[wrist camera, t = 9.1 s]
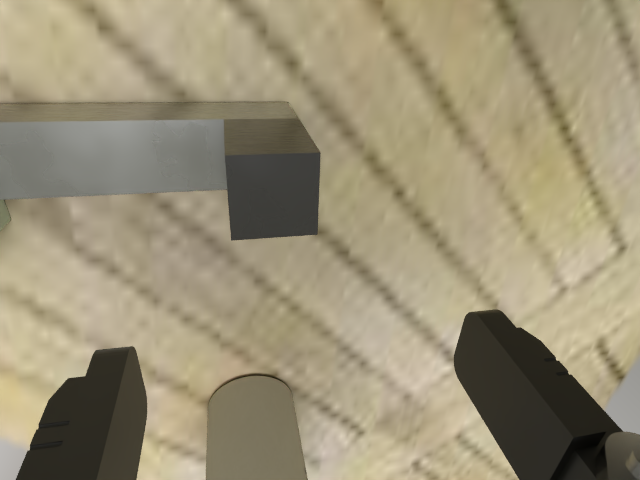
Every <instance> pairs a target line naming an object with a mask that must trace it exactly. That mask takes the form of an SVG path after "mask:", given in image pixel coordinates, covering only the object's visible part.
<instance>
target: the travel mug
mask: <svg viewBox="0 0 640 480" xmlns="http://www.w3.org/2000/svg"><path fill="white" fill-rule="evenodd" d="M206 480H308V479H307V473H306V468H305V462H304V457H303V451H302V446H301V440H300V435H299V429H298V424H297V418H296V413H295V407H294V402H293V396H292V393H291V391H290V389H289V388H288V387H287V386H286V385H285V384H284V383H282V382H281V381H279V380H277V379H274V378H271V377H266V376H248V377H243V378H239V379H236V380H233V381H231V382H229V383H227V384H225V385H224V386H222V387H221V388H220V389H219V390H217V391H216V392H215V394H214V395H213V396H212V398H211V399H210V402H209V405H208V421H207V455H206Z"/></svg>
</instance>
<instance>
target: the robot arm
mask: <svg viewBox="0 0 640 480" xmlns="http://www.w3.org/2000/svg"><path fill="white" fill-rule="evenodd" d="M454 367H455V372H456V375H457V377H458V379H459V381H460V383H461V384H462V386H463V387H464V389H465V391H466V392H467V394H468V396H469V397H470V399H471V401H472V402H473V404H474V406H475V407H476V409H477V411H478V412H479V414H480V415H481V417H482V419H483V420H484V422H485V424H486V425H487V427H488V429H489V430H490V432H491V434H492V435H493V437H494V438H495V440H496V442H497V443H498V445H499V447H500V448H501V450H502V452H503V453H504V455H505V457H506V458H507V460H508V462H509V463H510V465H511V466H512V468H513V470H514V471H515V473H516V475H517V476H518V478H519V480H640V435H639V434H636V433H631V432H623V431H622V430H621V429H620V428H619V427H618V426H617V425H616V423H615V422H614V421H613V420H612V419H611V418H610V417H609V416H608V415H607V413H606V412H605V411H604V410H603V409H602V408H601V407H600V406H599V405H598V404H597V402H596V401H595V400H594V399H593V398H592V397H591V396H590V395H589V394H588V392H587V391H586V390H585V389H584V388H583V387H582V386H581V385H580V384H579V383H578V381H577V380H576V379H575V378H574V377H573V376H572V375H569V374H568V370H567V369H566V368H565V367H564V366H563V365H562V364H561V363H560V362H559V361H556V357H555V356H554V355H553V354H552V353H551V352H550V351H549V349H548V348H547V347H546V346H545V345H544V344H543V343H542V342H541V341H540V340H539V339H537V338H536V337H534V336H533V335H531V334H530V333H528V332H527V331H525V330H524V329H522V328H521V327H520V328H516V327H515V326H514V324H513V323H512V322H511V321H510V320H509V319H508V318H507V316H506V315H505V314H504V313H503V312H502V311H500V310H486V311H477V312H469V313H468V314H467V315H466V316H465V319H464V322H463V326H462V329H461V333H460V336H459V340H458V343H457V347H456V350H455V354H454ZM146 419H147V396H146V390H145V386H144V382H143V378H142V374H141V369H140V365H139V361H138V357H137V353H136V350H135V348H134V347H133V346H131V347H122V348H112V349H103V350H96V351H95V352H94V354H93V356H92V359H91V362H90V365H89V367H88V370H87V373H86V376H84V377H76V378H68V379H67V380H66V381H65V383H64V384H63V385H62V386H61V387H60V388H59V389H58V390H57V391H56V393H55V394H54V395H53V396H52V397H51V398H50V399H49V401H48V403H47V406H46V408H45V410H44V413H43V415H42V418H41V420H40V422H39V428H38V430H36V432H35V434H34V437H33V439H32V442H31V444H30V450H29V451H27V454H26V456H25V459H24V461H23V463H22V466H21V469H20V471H19V473H18V476H17V478H16V480H136V478H137V472H138V467H139V461H140V455H141V449H142V443H143V437H144V431H145V425H146Z"/></svg>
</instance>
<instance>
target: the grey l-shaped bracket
mask: <svg viewBox="0 0 640 480" xmlns="http://www.w3.org/2000/svg"><path fill="white" fill-rule="evenodd" d="M319 177H320V151H319V150H318V148H317V146H316V145H315V143H314V142H313V140H312V139H311V137H310V136H309V134H308V133H307V131H306V129H305V128H304V126H303V125H302V123H301V122H300V120H299V119H298V117H297V115H296V114H295V112H294V111H293V109H292V108H291V106H290V105H289V103H288V102H234V103H75V104H0V200H6V199H28V198H50V197H73V196H95V195H117V194H139V193H161V192H184V191H206V190H227V191H228V203H229V216H230V229H231V240H244V239H259V238H273V237H288V236H303V235H317V231H318V204H319Z"/></svg>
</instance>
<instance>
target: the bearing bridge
mask: <svg viewBox="0 0 640 480" xmlns="http://www.w3.org/2000/svg"><path fill="white" fill-rule="evenodd" d="M10 220H11V218H10V215H9V212H8V210H7V207H6V204H5V201H4V200H0V231H1V230H2V229H3V228H4V226H5V225H6V224H7V223H8V222H9V221H10Z"/></svg>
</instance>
